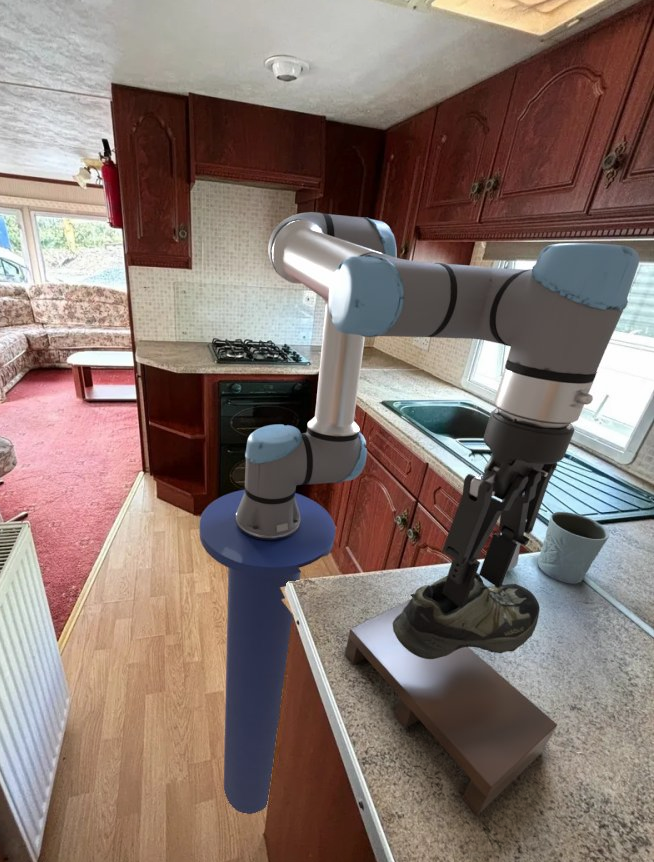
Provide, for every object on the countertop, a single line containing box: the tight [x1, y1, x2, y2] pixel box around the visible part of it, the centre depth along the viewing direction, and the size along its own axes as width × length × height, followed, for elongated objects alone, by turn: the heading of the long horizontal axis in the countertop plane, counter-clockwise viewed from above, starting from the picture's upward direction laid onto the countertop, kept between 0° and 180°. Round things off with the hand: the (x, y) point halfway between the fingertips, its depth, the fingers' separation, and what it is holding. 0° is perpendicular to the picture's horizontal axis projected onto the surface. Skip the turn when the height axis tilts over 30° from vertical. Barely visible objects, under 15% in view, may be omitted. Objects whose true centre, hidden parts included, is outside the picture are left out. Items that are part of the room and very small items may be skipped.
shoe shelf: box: [344, 598, 558, 817], centre depth 58 cm, size 24×14×6 cm, turn 31°
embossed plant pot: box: [537, 511, 610, 585], centre depth 86 cm, size 10×10×12 cm
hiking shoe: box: [393, 572, 541, 659], centre depth 53 cm, size 8×21×9 cm, turn 108°
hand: (472, 589), depth 50 cm, fingers closed on hiking shoe, 7 cm apart
